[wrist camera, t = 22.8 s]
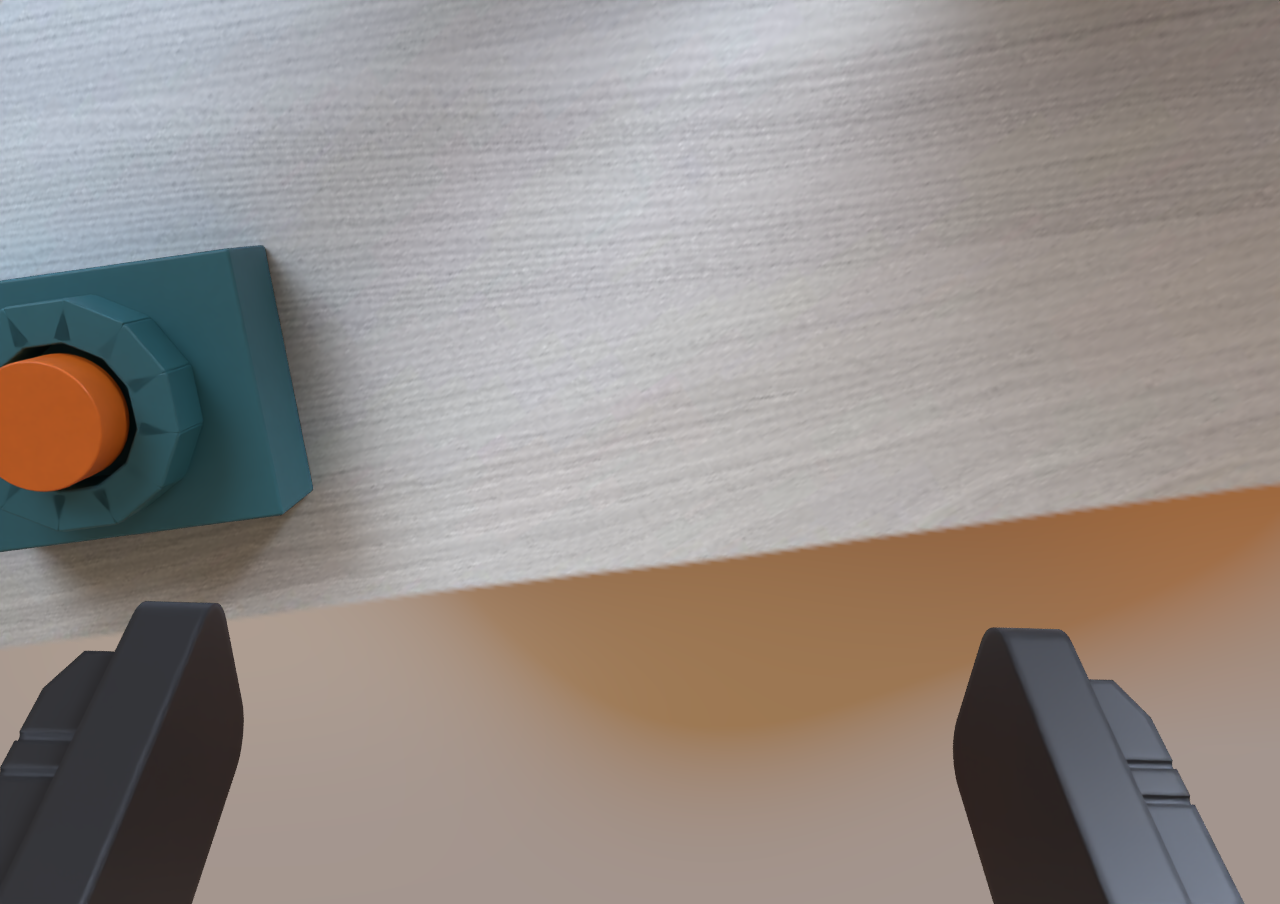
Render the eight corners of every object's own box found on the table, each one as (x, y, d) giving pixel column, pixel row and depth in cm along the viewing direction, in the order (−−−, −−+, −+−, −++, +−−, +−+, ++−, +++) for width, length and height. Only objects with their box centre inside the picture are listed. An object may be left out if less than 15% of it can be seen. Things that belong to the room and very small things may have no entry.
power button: (21, 485, 34) (-13, 500, 32) (-10, 362, 33) (-47, 370, 31) (142, 469, 33) (115, 483, 32) (114, 344, 33) (84, 352, 31)
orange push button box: (19, 529, 39) (-74, 575, 34) (-42, 288, 37) (-149, 300, 32) (314, 490, 38) (263, 531, 33) (265, 244, 37) (203, 250, 32)
